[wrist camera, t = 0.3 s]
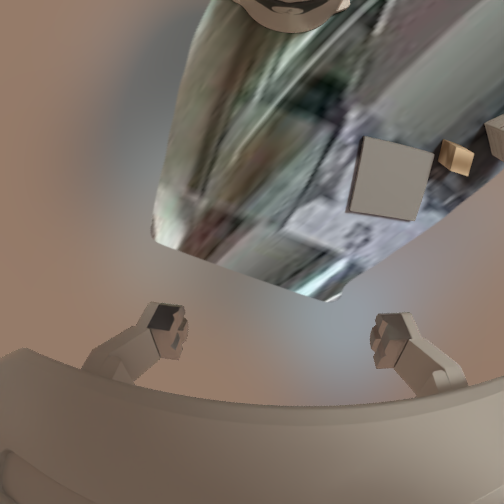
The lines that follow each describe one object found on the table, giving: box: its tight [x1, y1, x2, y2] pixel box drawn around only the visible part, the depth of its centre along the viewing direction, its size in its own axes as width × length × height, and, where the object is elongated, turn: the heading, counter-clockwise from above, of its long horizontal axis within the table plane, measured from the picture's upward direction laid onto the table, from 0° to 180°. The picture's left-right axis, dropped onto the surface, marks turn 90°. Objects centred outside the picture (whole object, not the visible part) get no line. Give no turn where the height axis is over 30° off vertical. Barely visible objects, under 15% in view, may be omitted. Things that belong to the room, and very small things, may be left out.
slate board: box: [349, 136, 434, 221], centre depth 44 cm, size 14×14×1 cm
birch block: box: [438, 139, 474, 176], centre depth 37 cm, size 4×4×5 cm
